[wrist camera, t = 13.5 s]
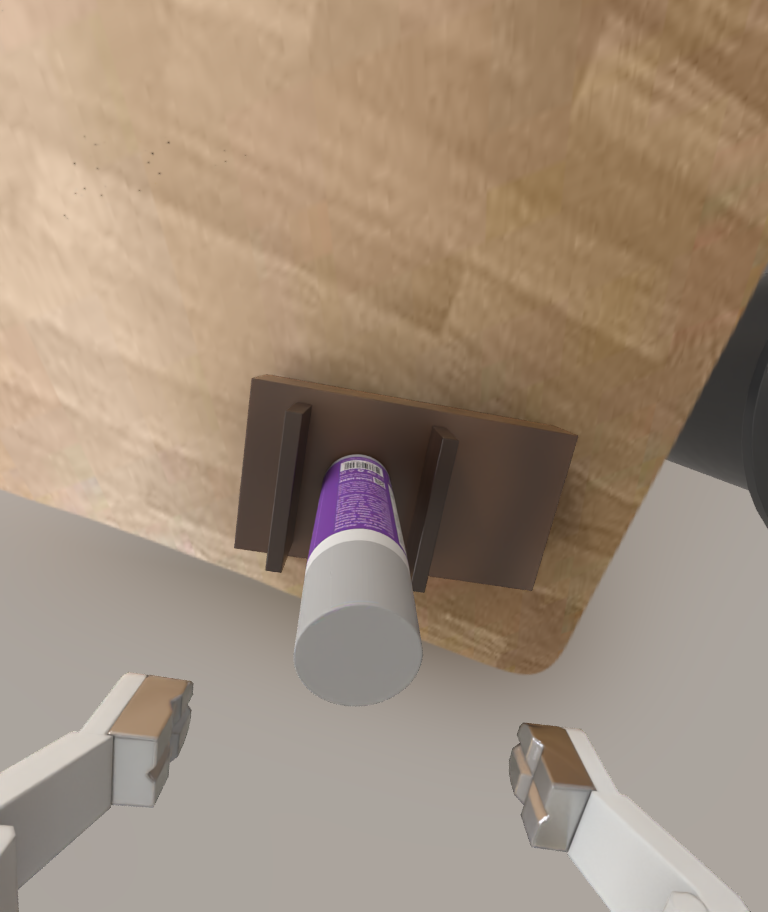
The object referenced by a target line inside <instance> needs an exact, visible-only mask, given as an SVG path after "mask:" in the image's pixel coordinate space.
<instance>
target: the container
mask: <svg viewBox="0 0 768 912" xmlns="http://www.w3.org/2000/svg"><path fill="white" fill-rule="evenodd" d="M422 656H423V650H422V643H421V637H420V631H419V625H418V619H417V613H416V607H415V601H414V595H413V589H412V583H411V576H410V570H409V564H408V559H407V555H406V550H405V545H404V541H403V536H402V531H401V527H400V522H399V517H398V513H397V508H396V503H395V499H394V494H393V489H392V485H391V480H390V477H389V474H388V472H387V470H386V469H385V467H384V466H383V465H382V464H381V463H380V462H378V461H377V460H375V459H374V458H372V457H369V456H366V455H358V454H357V455H348V456H345V457H342V458H340V459H338V460H337V461H335V462H334V463H333V464H332V465H331V466H330V467H329V468H328V470H327V471H326V473H325V476H324V479H323V482H322V488H321V493H320V498H319V503H318V508H317V513H316V519H315V524H314V529H313V534H312V539H311V544H310V550H309V555H308V560H307V565H306V572H305V579H304V586H303V593H302V600H301V607H300V614H299V621H298V628H297V635H296V641H295V648H294V665H295V669H296V672H297V675H298V676H299V678H300V680H301V681H302V683H303V684H304V685H305V686H306V687H307V689H309V690H310V691H311V692H312V693H313V694H315V695H316V696H318V697H320V698H321V699H324V700H326V701H328V702H331V703H334V704H339V705H344V706H367V705H372V704H377V703H380V702H383V701H385V700H388V699H390V698H392V697H394V696H395V695H397V694H399V693H400V692H401V691H403V690H404V689H405V688H406V687H407V686H408V685H409V684H410V683H411V682H412V681H413V679H414V678H415V676H416V675H417V673H418V671H419V668H420V665H421V662H422Z"/></svg>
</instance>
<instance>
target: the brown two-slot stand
mask: <svg viewBox="0 0 768 912" xmlns="http://www.w3.org/2000/svg"><path fill="white" fill-rule="evenodd" d="M577 439H578V435H575V434H573V433H570V432H568V431H565V430H563V429H561V428H558V427H556V426H553V425H548V424H542V423H537V422H531V421H526V420H520V419H514V418H509V417H503V416H498V415H492V414H486V413H481V412H475V411H470V410H464V409H458V408H453V407H447V406H441V405H436V404H430V403H425V402H419V401H413V400H408V399H402V398H397V397H391V396H385V395H380V394H374V393H369V392H363V391H357V390H352V389H346V388H341V387H335V386H329V385H324V384H318V383H312V382H307V381H301V380H296V379H290V378H284V377H279V376H273V375H268V374H266V375H262V376H258V377H254V378H252V380H251V390H250V400H249V409H248V419H247V429H246V438H245V448H244V458H243V467H242V477H241V486H240V496H239V506H238V515H237V525H236V535H235V544H234V548H237V549H244V550H251V551H258V552H265V553H267V561H266V569H265V570H266V571H272V572H280V573H281V572H282V570H283V567H284V565H285V562H286V559H287V557H288V556H293V557H300V558H307V559H308V555H309V550H310V544H311V539H312V534H313V529H314V524H315V519H316V513H317V508H318V503H319V498H320V493H321V488H322V482H323V479H324V476H325V473H326V471H327V470H328V468H329V467H330V466H331V465H332V464H333V463H334V462H335V461H337V460H338V459H340V458H342V457H345V456H348V455H357V454H358V455H366V456H369V457H372V458H374V459H375V460H377V461H378V462H380V463H381V464H382V465H383V466H384V467H385V469H386V470H387V472H388V474H389V477H390V480H391V485H392V489H393V494H394V499H395V503H396V508H397V513H398V517H399V522H400V527H401V531H402V536H403V541H404V545H405V550H406V555H407V559H408V564H409V570H410V576H411V583H412V589H413V591H416V592H423V593H424V592H425V588H426V584H427V579H428V576H432V577H439V578H446V579H453V580H460V581H467V582H474V583H481V584H488V585H495V586H502V587H508V588H515V589H522V590H529V591H532V590H533V586H534V583H535V580H536V576H537V573H538V570H539V566H540V563H541V560H542V556H543V553H544V550H545V546H546V543H547V540H548V536H549V533H550V529H551V526H552V523H553V519H554V516H555V513H556V509H557V506H558V503H559V499H560V496H561V493H562V489H563V486H564V483H565V479H566V476H567V473H568V469H569V466H570V462H571V459H572V456H573V452H574V449H575V446H576V442H577Z"/></svg>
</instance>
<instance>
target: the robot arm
mask: <svg viewBox="0 0 768 912" xmlns="http://www.w3.org/2000/svg"><path fill="white" fill-rule="evenodd" d="M192 695H193V683H192V682H191V681H187V680H180V679H173V678H167V677H160V676H153V675H144V674H138V673H131V672H128V673H126V674H125V675H123V676H122V677H121V678H120V679H119V681H118V682H117V683H116V685H115V686H114V687H113V688H112V690H111V691H110V692H109V694H108V695H107V696H106V698H105V699H104V700H103V701H102V703H101V704H100V705H99V707H98V708H97V709H96V711H95V712H94V713H93V714H92V716H91V717H90V719H89V720H88V721H87V722H86V724H85V725H84V726H83V728H82V729H81V730H80V731H79V732H75V731H72V732H70V733H68V734H66V735H65V736H63V737H61V738H60V739H58V740H56V741H54V742H52V743H51V744H49V745H47V746H46V747H44V748H42V749H40V750H39V751H37V752H35V753H33V754H32V755H30V756H28V757H26V758H25V759H23V760H21V761H20V762H18V763H16V764H14V765H13V766H11V767H9V768H7V769H6V770H4V771H2V772H1V773H0V912H19V910H18V909H19V908H18V889H19V888H20V887H22V886H23V885H24V884H25V883H26V882H27V881H28V880H29V879H31V878H32V877H33V876H34V875H35V874H36V873H37V872H38V871H39V870H41V869H42V868H43V867H44V866H45V865H46V864H48V863H49V862H50V861H51V860H52V859H53V858H54V857H55V856H57V855H58V854H59V853H60V852H61V851H62V850H63V849H65V848H66V847H67V846H68V845H69V844H70V843H71V842H72V841H74V840H75V839H76V838H77V837H78V836H79V835H80V834H82V833H83V832H84V831H85V830H86V829H87V828H88V827H89V826H91V825H92V824H93V823H94V822H95V821H96V820H97V819H98V818H100V817H101V816H102V815H103V814H104V813H105V812H106V811H108V810H109V809H110V808H111V805H122V806H136V807H149V808H153V807H154V805H155V803H156V801H157V799H158V797H159V795H160V793H161V791H162V789H163V786H164V784H165V782H166V780H167V778H168V775H169V763H170V762H171V761H173V760H174V759H175V758H177V757H178V755H179V753H180V751H181V748H182V746H183V744H184V741H185V738H186V735H187V732H188V728H189V724H190V719H191V709H190V707H189V706H188V703H189V701H190V699H191V697H192ZM517 736H518V739H519V741H520V743H519V744H518V745H517V746H515V747H514V748H513V749H512V752H511V756H510V760H509V775H510V781H511V785H512V789H513V792H514V795H515V796H516V797H517V798H518V799H519V800H520V802H521V803H522V804H523V805H524V806H523V810H522V813H521V817H522V820H523V823H524V826H525V829H526V833H527V835H528V839H529V842H530V845H531V847H534V848H541V849H548V850H556V851H563V852H568V856H569V857H570V859H571V860H572V861H573V863H574V864H575V865H576V866H577V868H578V869H579V870H580V872H581V873H582V874H583V876H584V877H585V878H586V880H587V881H588V882H589V884H590V885H591V886H592V888H593V889H594V890H595V891H596V893H597V894H598V895H599V897H600V898H601V899H602V901H603V902H604V903H605V905H606V906H607V907H608V908H609V910H610V911H611V912H751V911H750V910H749V909H748V907H747V906H746V904H745V903H744V901H743V900H742V898H741V897H740V896H739V895H738V894H737V893H736V892H735V891H734V890H733V889H732V888H730V887H729V886H728V885H727V884H726V883H725V882H724V881H723V880H721V879H720V878H719V877H718V876H717V875H716V874H715V873H714V872H712V871H711V870H710V869H709V868H708V867H707V866H706V865H704V864H703V863H702V862H701V861H700V860H699V859H698V858H697V857H695V856H694V855H693V854H692V853H691V852H690V851H689V850H688V849H686V848H685V847H684V846H683V845H682V844H681V843H680V842H679V841H677V840H676V839H675V838H674V837H673V836H672V835H671V834H670V833H668V832H667V831H666V830H665V829H664V828H663V827H662V826H661V825H659V824H658V823H657V822H656V821H655V820H654V819H653V818H651V817H650V816H649V815H648V814H647V813H646V812H645V811H644V810H642V809H641V808H640V807H639V806H638V805H637V804H636V803H635V802H633V801H632V800H631V799H630V798H629V797H628V796H627V795H623V794H620V793H619V791H618V790H617V788H616V786H615V784H614V783H613V781H612V779H611V777H610V775H609V774H608V772H607V770H606V768H605V767H604V765H603V763H602V761H601V760H600V758H599V756H598V754H597V752H596V751H595V749H594V747H593V745H592V743H591V742H590V740H589V738H588V736H587V735H586V733H585V732H584V731H583V730H582V729H575V728H567V727H557V726H549V725H540V724H531V723H523V724H521V726H520V727H519V730H518V733H517Z"/></svg>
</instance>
